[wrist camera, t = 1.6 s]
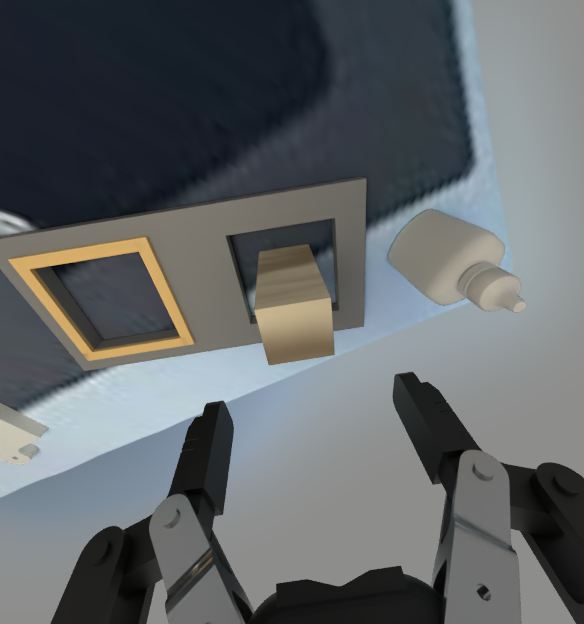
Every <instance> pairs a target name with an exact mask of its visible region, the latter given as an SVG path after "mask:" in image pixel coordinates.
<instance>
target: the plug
mask: <svg viewBox="0 0 584 624" xmlns="http://www.w3.org/2000/svg"><path fill="white" fill-rule="evenodd" d="M254 311H255V315H256V319H257V322H258V326H259V330H260V334H261V338H262V341H263V345H264V349H265V353H266V357H267V360H268V364H269V365H274V364H280V363H287V362H293V361H299V360H305V359H312V358H318V357H324V356H331V355H335V354H334V338H333V323H332V307H331V297H330V294H329V292H328V290H327V287H326V285H325V282H324V280H323V278H322V275H321V273H320V271H319V268H318V266H317V263H316V261H315V259H314V256H313V254H312V252H311V249H310V247H309V244H302V245H296V246H290V247H283V248H277V249H271V250H265V251H259V260H258V272H257V284H256V295H255V307H254Z"/></svg>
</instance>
